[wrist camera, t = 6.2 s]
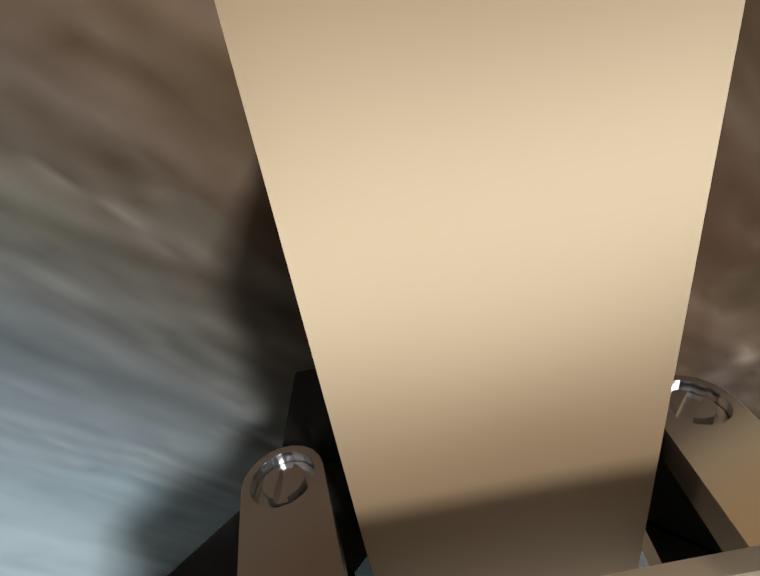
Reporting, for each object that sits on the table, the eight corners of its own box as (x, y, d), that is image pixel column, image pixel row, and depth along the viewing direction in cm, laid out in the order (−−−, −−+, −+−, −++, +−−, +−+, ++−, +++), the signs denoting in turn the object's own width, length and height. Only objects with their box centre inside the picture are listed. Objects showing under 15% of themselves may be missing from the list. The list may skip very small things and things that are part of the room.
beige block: (504, 491, 14) (607, 732, 9) (392, 512, 14) (425, 768, 9) (487, 27, 8) (768, -121, 3) (295, 60, 8) (207, -27, 3)
